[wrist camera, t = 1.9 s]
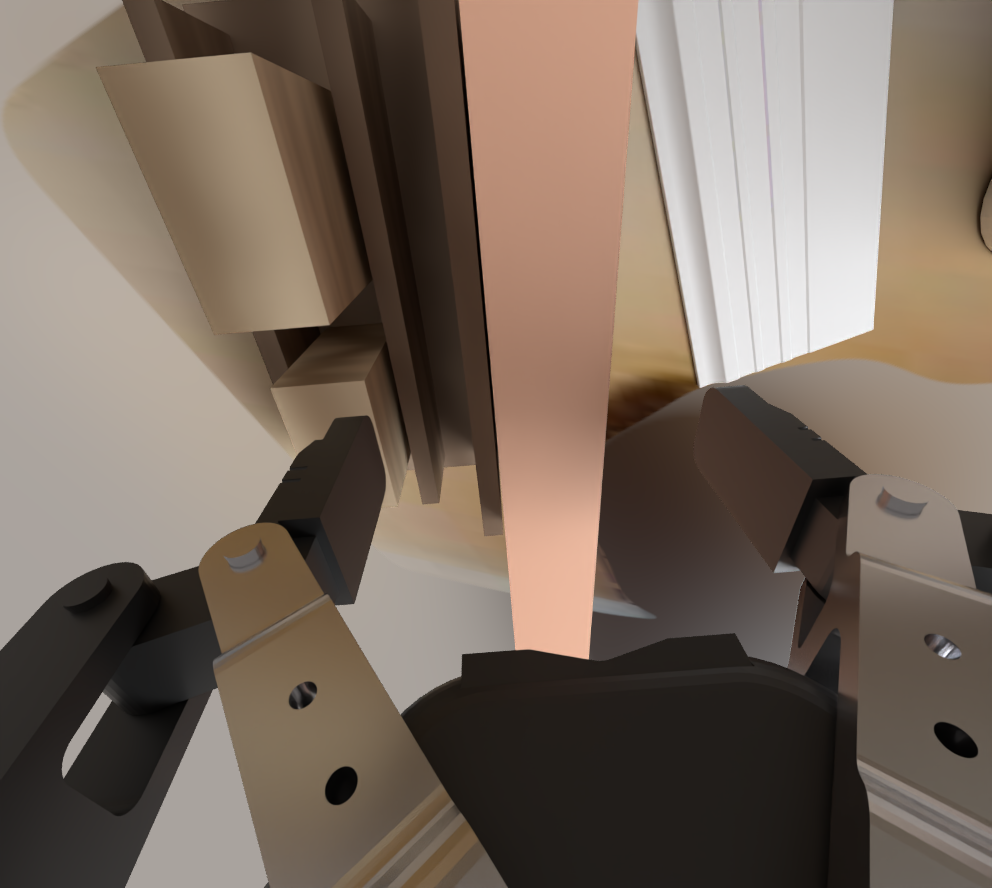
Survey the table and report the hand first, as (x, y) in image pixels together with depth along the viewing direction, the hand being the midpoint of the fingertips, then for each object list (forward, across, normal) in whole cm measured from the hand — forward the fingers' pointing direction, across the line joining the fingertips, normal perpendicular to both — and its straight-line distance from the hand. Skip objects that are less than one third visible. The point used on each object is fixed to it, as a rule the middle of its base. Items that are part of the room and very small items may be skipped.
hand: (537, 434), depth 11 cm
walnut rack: (+18, +4, 0) cm, 18 cm away
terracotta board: (+16, 0, 0) cm, 16 cm away
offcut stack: (+16, +8, 0) cm, 18 cm away
